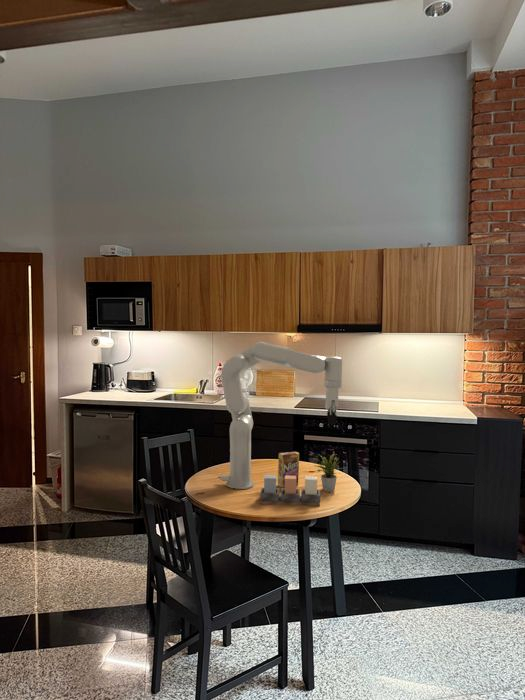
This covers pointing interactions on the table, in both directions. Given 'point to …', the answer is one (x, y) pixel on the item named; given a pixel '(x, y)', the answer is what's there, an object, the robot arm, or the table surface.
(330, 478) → the house plant
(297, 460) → the candy box
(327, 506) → the table surface
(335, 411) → the robot arm
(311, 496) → the button board
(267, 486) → the slate button
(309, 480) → the cream button
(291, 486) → the terracotta button
